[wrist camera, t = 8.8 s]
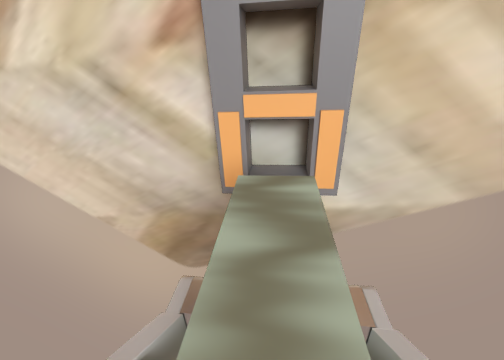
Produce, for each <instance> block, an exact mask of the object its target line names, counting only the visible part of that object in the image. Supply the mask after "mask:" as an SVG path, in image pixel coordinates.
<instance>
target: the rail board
mask: <svg viewBox="0 0 504 360" xmlns="http://www.w3.org/2000/svg"><path fill="white" fill-rule="evenodd" d="M201 6H202V15H203V24H204V33H205V42H206V51H207V60H208V68H209V77H210V86H211V95H212V104H213V113H214V122H215V131H216V140H217V149H218V158H219V167H220V176H221V185H222V193H233V190H234V187H235V184H236V181H237V178H238V175H246V176H314V177H315V180H316V183H317V186H318V189H319V193H320V195H332V196H337V190H338V184H339V177H340V170H341V163H342V156H343V149H344V143H345V136H346V129H347V122H348V115H349V108H350V102H351V95H352V88H353V81H354V74H355V67H356V61H357V54H358V47H359V40H360V33H361V26H362V20H363V13H364V6H365V0H201ZM316 7H317V14H316V28H315V42H314V56H313V70H312V85H292V86H258V87H249V84H248V60H247V37H246V13H245V12H256V11H271V10H286V9H301V8H316ZM250 119H309V127H308V141H307V155H306V165H252V155H251V131H250Z"/></svg>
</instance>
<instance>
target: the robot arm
mask: <svg viewBox="0 0 504 360" xmlns="http://www.w3.org/2000/svg"><path fill="white" fill-rule="evenodd" d="M203 279H204V277H195V276H182V278H181V279H180V280H179V283H178V285H177V287H176V289H175V292H174V294H173V296H172V298H171V301H170V303H169V305H168V308H167V309H166V312H165V313H164V312H162V313H160V314H159V315H158V316H157V317H156V318H154V319H153V320H152V321H151V322H150V323H148V324H147V325H146V326H145V327H144V328H143V329H141V330H140V331H139V332H138V333H137V334H136V335H134V336H133V337H132V338H131V339H130V340H128V341H127V342H126V343H125V344H124V345H123V346H121V347H120V348H119V349H118V350H117V351H116V352H114V353H113V354H112V355H111V356H110V357H108V358H107V359H106V360H176V359H177V356H178V353H179V350H180V347H181V344H182V341H183V338H184V335H185V332H186V329H187V326H188V323H189V320H190V317H191V314H192V311H193V308H194V306H195V303H196V300H197V297H198V294H199V291H200V288H201V285H202V282H203ZM348 287H349V290H350V293H351V296H352V300H353V303H354V306H355V309H356V313H357V316H358V319H359V322H360V326H361V329H362V332H363V335H364V339H365V342H366V345H367V348H368V352H369V355H370V358H371V360H429V359H428V358H427V357H426V356H425V355H424V354H423V353H422V352H421V351H420V350H419V349H418V348H417V347H416V346H414V345H413V344H412V343H411V342H410V341H409V340H408V339H407V338H406V337H405V336H404V335H403V334H402V333H401V332H399V331H398V330H395V329H393V328H392V326H391V323H390V321H389V319H388V316H387V314H386V311H385V309H384V307H383V304H382V302H381V300H380V297H379V295H378V293H377V290H376V289H375V288H374V287H373V286H359V285H348Z"/></svg>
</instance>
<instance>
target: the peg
mask: <svg viewBox="0 0 504 360" xmlns="http://www.w3.org/2000/svg"><path fill="white" fill-rule="evenodd" d="M176 360H371V358H370V355H369V352H368V348H367V345H366V342H365V339H364V335H363V332H362V329H361V326H360V322H359V319H358V316H357V313H356V309H355V306H354V303H353V300H352V296H351V293H350V290H349V287H348V284H347V280H346V277H345V274H344V271H343V268H342V264H341V261H340V258H339V255H338V251H337V248H336V245H335V241H334V238H333V235H332V232H331V228H330V225H329V222H328V219H327V215H326V212H325V209H324V206H323V202H322V199H321V196H320V193H319V189H318V186H317V183H316V180H315V177H314V176H246V175H238V178H237V181H236V184H235V187H234V190H233V193H232V196H231V199H230V201H229V204H228V207H227V210H226V213H225V216H224V219H223V222H222V225H221V228H220V231H219V234H218V237H217V240H216V243H215V246H214V249H213V252H212V255H211V258H210V261H209V264H208V267H207V270H206V273H205V276H204V279H203V282H202V285H201V288H200V291H199V294H198V297H197V300H196V303H195V306H194V308H193V311H192V314H191V317H190V320H189V323H188V326H187V329H186V332H185V335H184V338H183V341H182V344H181V347H180V350H179V353H178V356H177V359H176Z"/></svg>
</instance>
